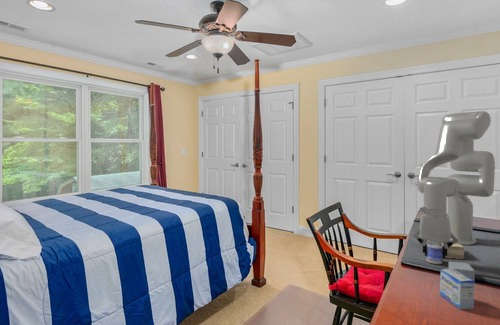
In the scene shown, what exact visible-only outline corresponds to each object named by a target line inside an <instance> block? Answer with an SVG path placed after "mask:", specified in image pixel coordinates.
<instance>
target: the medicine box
mask: <svg viewBox="0 0 500 325" xmlns="http://www.w3.org/2000/svg"><path fill="white" fill-rule="evenodd" d="M439 278H440V281H439V282H440V283H439V286H440V287H439V296H441V297H442V299H444V300H446V301H447V302H449V303H450V304H452V305H453V306H455V307H456V308H457V309H459V310H461V311H462V310H473V309H474V308H475V307H474V306H475V305H474V304H475V282H474V280H472V279H470V278H468V277H466V276H465V275H463V274H461V273H459V272H458V271H456V270H454V269H449V268H443V269H440V277H439Z"/></svg>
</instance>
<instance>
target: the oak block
mask: <svg viewBox="0 0 500 325" xmlns="http://www.w3.org/2000/svg"><path fill="white" fill-rule="evenodd" d="M451 240H452V239H451ZM451 240H450V241H451ZM427 242H429V240H427ZM441 244H442V245H443V242H441ZM445 257H446V258H445V259H452V258H456V259H457V260H464V259H465V247H464V246H463V245H462V244H460V243H458V242H457V243H455V244H453V245H452V246H450V247H449V248H448V249H447V256H445ZM456 259H455V260H456Z"/></svg>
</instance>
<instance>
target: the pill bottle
mask: <svg viewBox="0 0 500 325" xmlns="http://www.w3.org/2000/svg"><path fill="white" fill-rule="evenodd" d="M426 244H427V256H426V261H427V262H428V263H431V264H434V265H441V264H443V260H444V258H443V245H442V244H441V242H437V241H429V242H428V241H427V242H426Z"/></svg>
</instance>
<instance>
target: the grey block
mask: <svg viewBox="0 0 500 325" xmlns="http://www.w3.org/2000/svg"><path fill="white" fill-rule="evenodd" d="M448 269H454V270H456V271H458V272H459V273H461V274H463V275H465V276H466V277H468V278H470V279H472V280H474V283H475V277H476V275H475V274H476V270H475V269H474V268H473V267H472V266H471V264H469V263H465V262H457V261H456V262H455V261H448Z"/></svg>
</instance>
